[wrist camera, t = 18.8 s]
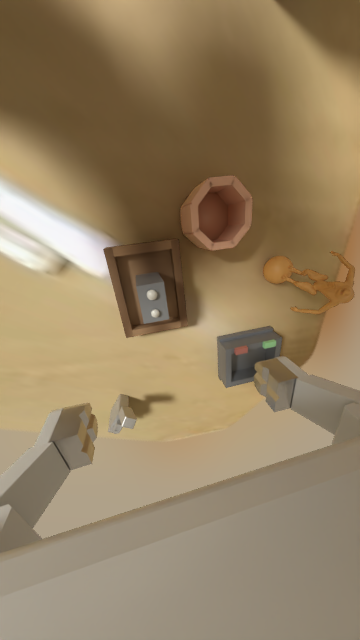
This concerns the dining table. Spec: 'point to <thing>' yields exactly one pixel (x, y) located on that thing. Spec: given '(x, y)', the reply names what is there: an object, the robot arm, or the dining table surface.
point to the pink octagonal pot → (217, 213)
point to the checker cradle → (245, 354)
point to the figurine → (336, 292)
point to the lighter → (121, 415)
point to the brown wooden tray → (142, 261)
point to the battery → (152, 297)
